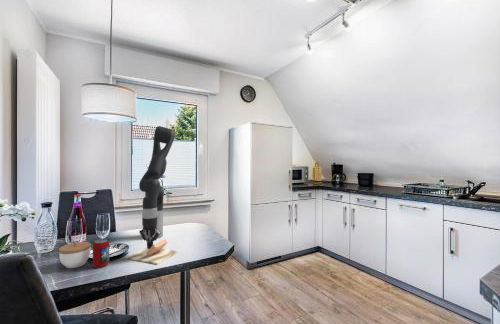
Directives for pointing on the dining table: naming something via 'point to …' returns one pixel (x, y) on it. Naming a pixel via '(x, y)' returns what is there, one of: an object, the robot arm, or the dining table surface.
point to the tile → (156, 247)
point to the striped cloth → (152, 256)
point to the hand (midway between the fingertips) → (149, 248)
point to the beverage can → (100, 253)
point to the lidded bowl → (74, 254)
